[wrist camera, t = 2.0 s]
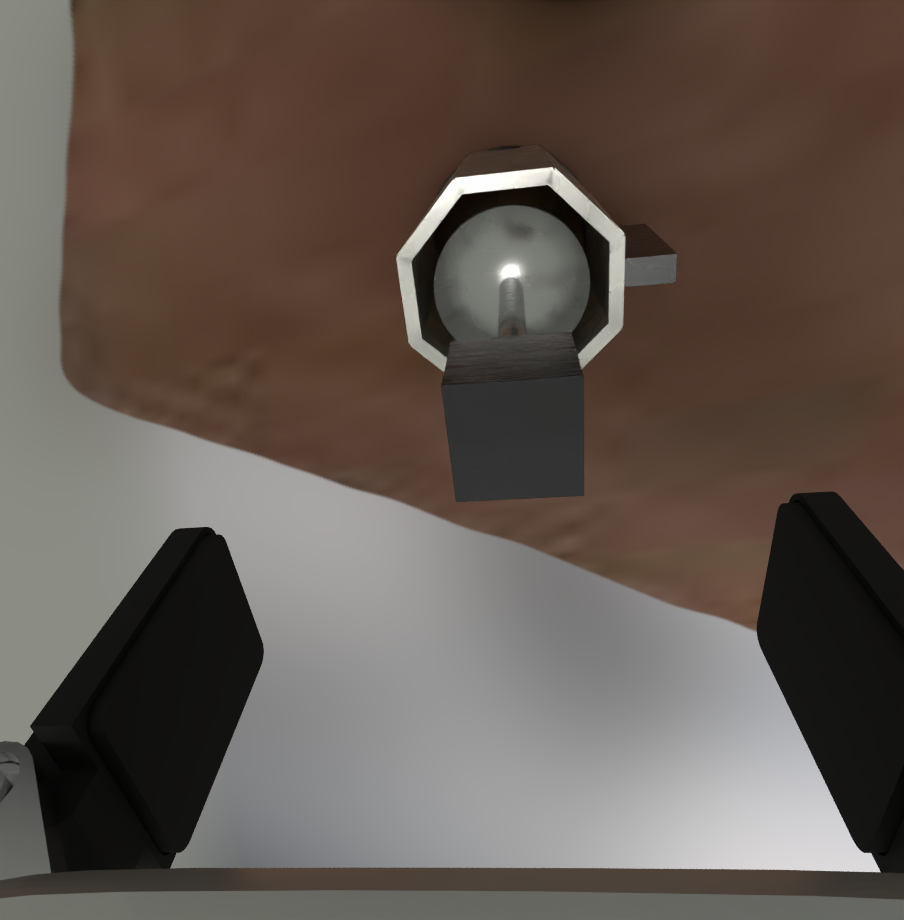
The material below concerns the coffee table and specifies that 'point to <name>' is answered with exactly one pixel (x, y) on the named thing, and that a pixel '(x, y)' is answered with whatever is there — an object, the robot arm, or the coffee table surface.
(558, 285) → the plunger
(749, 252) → the coffee table surface
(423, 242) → the press carafe
